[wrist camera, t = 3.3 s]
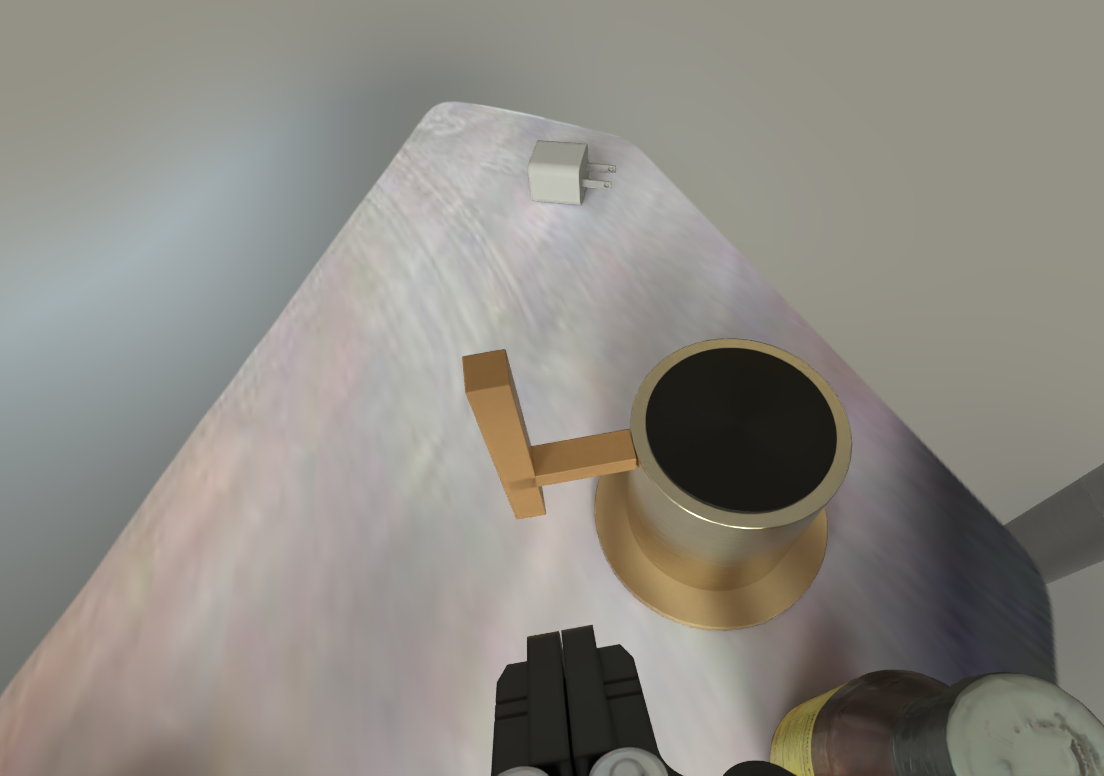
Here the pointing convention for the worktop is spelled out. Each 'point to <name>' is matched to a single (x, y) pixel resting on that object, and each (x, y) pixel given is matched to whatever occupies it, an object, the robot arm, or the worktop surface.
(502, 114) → the worktop surface
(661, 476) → the flanged cylinder with handle
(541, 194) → the usb wall charger
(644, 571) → the turntable
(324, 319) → the worktop surface
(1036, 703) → the sauce bottle
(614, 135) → the worktop surface
